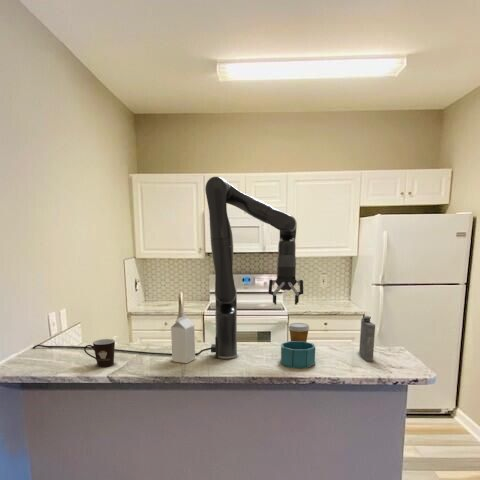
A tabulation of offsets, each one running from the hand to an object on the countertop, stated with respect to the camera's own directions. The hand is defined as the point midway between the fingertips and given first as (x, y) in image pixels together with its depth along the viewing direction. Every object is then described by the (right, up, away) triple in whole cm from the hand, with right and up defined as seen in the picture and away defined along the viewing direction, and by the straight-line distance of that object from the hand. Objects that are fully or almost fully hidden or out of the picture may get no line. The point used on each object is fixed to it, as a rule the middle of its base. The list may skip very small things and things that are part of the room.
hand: (285, 304), depth 169 cm
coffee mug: (-76, -25, 0) cm, 80 cm away
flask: (+36, -23, +9) cm, 44 cm away
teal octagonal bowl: (+5, -25, +1) cm, 25 cm away
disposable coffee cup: (+8, -21, +20) cm, 30 cm away
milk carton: (-43, -24, +5) cm, 50 cm away
